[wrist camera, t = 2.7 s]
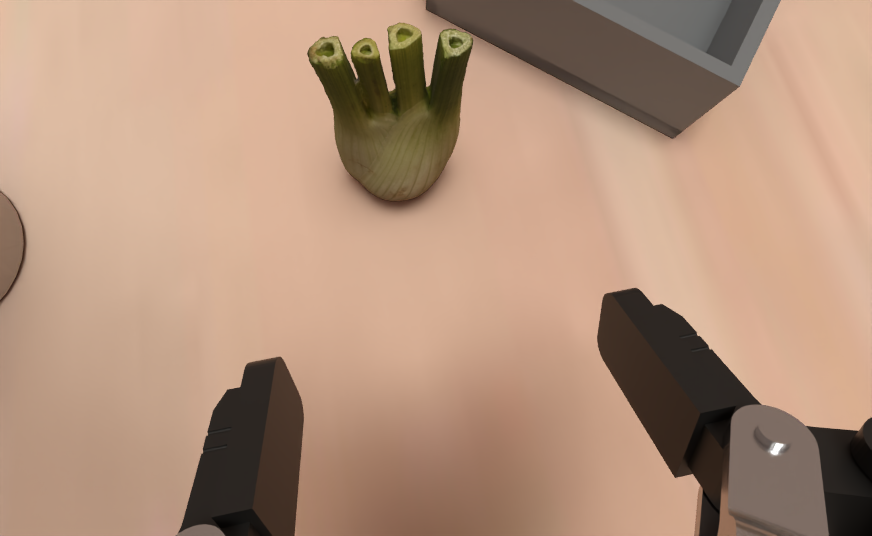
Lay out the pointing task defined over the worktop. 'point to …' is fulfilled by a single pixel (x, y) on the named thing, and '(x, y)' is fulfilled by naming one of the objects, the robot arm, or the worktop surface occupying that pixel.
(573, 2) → the bin
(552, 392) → the worktop surface
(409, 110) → the fennel bulb
